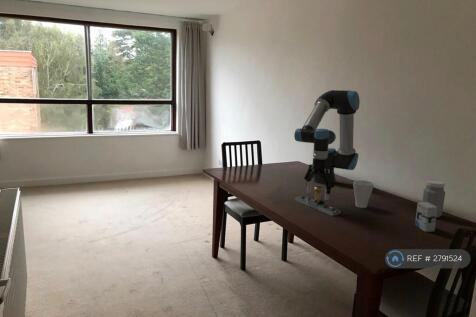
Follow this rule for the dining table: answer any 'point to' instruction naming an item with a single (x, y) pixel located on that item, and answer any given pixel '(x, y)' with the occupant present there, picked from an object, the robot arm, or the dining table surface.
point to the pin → (317, 194)
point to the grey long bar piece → (321, 207)
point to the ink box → (426, 216)
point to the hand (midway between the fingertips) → (317, 196)
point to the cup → (362, 192)
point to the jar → (435, 195)
